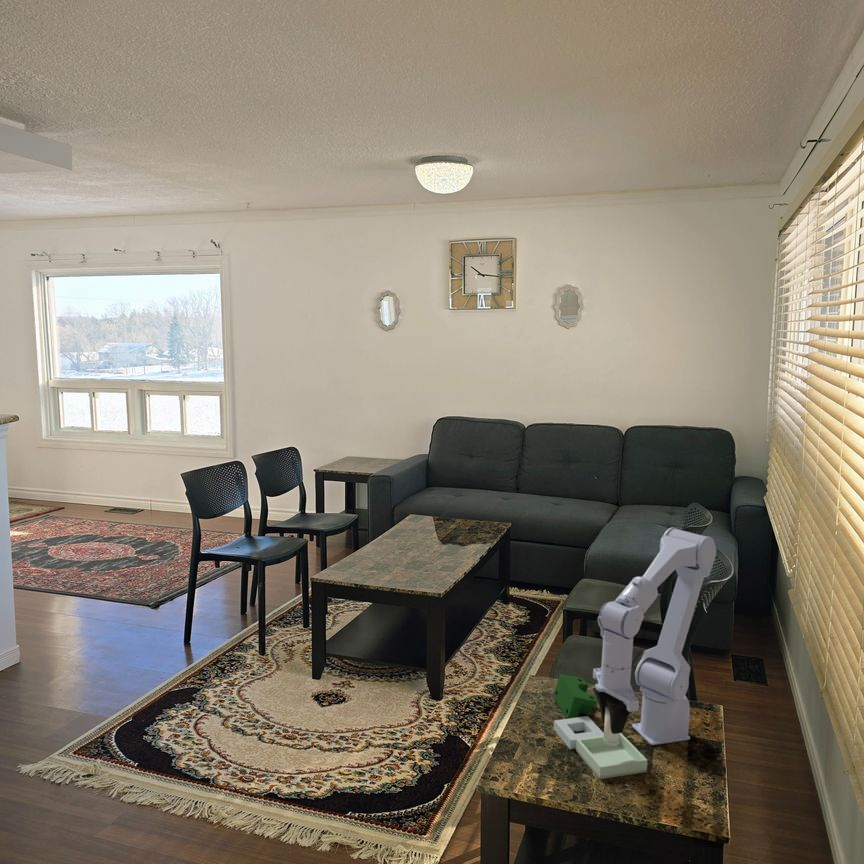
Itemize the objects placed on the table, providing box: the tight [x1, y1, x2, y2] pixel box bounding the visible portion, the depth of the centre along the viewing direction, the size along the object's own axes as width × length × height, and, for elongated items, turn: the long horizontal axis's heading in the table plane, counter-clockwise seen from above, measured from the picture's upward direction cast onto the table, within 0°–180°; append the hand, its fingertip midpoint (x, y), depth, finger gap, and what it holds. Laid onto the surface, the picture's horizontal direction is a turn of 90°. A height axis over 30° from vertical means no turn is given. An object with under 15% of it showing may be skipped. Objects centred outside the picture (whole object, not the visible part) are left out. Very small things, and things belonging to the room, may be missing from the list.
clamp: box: [553, 673, 598, 719], centre depth 175 cm, size 12×6×9 cm, turn 0°
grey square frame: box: [553, 715, 604, 750], centre depth 164 cm, size 8×8×2 cm
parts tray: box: [575, 732, 648, 780], centre depth 155 cm, size 10×10×2 cm
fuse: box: [603, 706, 620, 746], centre depth 154 cm, size 3×3×7 cm
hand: (612, 727), depth 154 cm, fingers closed on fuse, 3 cm apart
